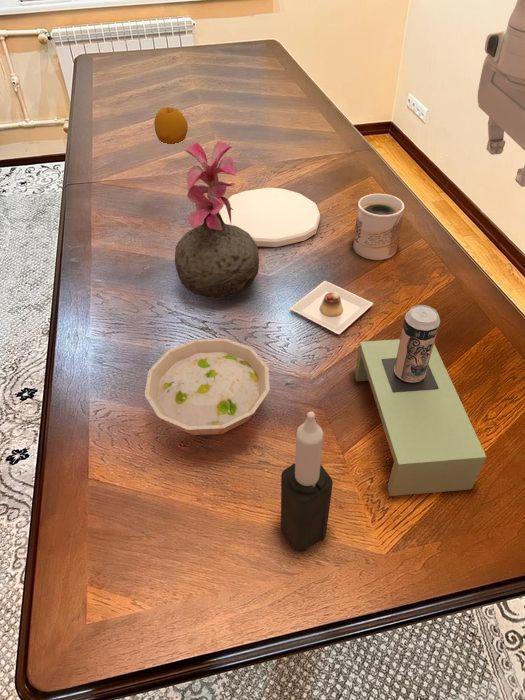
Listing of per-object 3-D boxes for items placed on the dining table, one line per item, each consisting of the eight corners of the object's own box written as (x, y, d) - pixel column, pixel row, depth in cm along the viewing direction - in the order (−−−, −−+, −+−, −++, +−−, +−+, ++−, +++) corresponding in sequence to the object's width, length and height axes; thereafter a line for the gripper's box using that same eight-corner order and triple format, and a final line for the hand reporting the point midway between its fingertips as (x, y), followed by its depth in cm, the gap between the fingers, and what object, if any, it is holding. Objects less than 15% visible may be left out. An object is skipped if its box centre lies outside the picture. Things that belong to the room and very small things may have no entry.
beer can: (405, 388, 80) (419, 328, 72) (387, 368, 84) (399, 308, 75) (431, 378, 82) (448, 318, 74) (413, 358, 85) (427, 299, 77)
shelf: (422, 370, 95) (431, 335, 89) (471, 489, 77) (487, 456, 72) (354, 375, 94) (359, 340, 88) (389, 496, 77) (398, 463, 71)
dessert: (288, 312, 107) (289, 293, 103) (324, 284, 113) (326, 265, 110) (338, 338, 101) (340, 319, 97) (373, 307, 107) (376, 288, 104)
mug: (344, 253, 121) (348, 209, 114) (360, 227, 129) (366, 184, 121) (389, 264, 118) (397, 219, 110) (403, 237, 126) (412, 193, 118)
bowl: (282, 383, 93) (282, 341, 86) (256, 477, 79) (254, 436, 72) (176, 367, 96) (169, 325, 89) (134, 454, 83) (121, 413, 76)
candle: (298, 555, 71) (305, 440, 53) (277, 525, 74) (277, 407, 57) (329, 535, 73) (345, 418, 55) (307, 507, 76) (316, 387, 58)
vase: (181, 318, 106) (158, 174, 85) (177, 267, 118) (156, 131, 98) (265, 308, 108) (262, 164, 87) (252, 259, 120) (248, 124, 99)
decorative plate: (337, 220, 123) (233, 240, 118) (336, 236, 126) (235, 256, 121) (298, 174, 141) (206, 190, 136) (298, 189, 144) (208, 205, 138)
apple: (193, 141, 167) (189, 102, 159) (183, 154, 161) (178, 114, 152) (164, 139, 169) (158, 100, 161) (152, 152, 162) (146, 112, 154)
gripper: (618, 81, 55) (569, 203, 65) (528, 29, 70) (500, 135, 79) (558, 85, 55) (518, 208, 64) (481, 32, 69) (458, 138, 79)
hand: (507, 167), depth 72 cm, fingers open, 8 cm apart
